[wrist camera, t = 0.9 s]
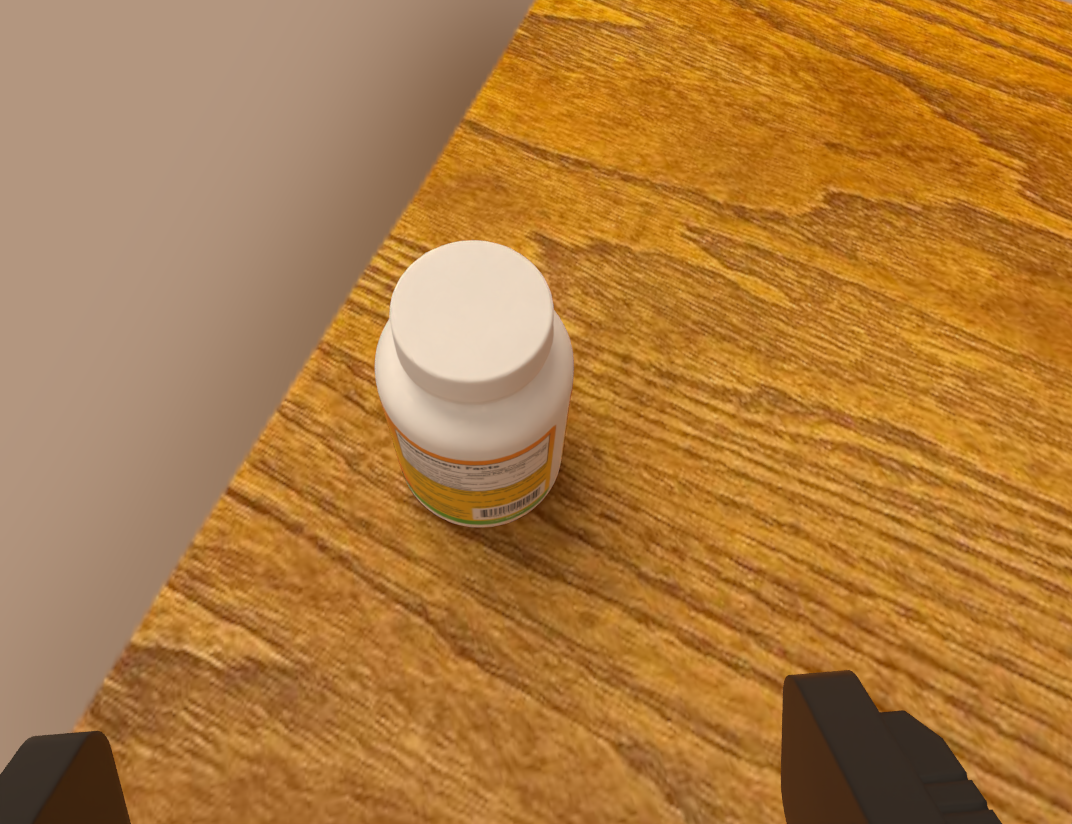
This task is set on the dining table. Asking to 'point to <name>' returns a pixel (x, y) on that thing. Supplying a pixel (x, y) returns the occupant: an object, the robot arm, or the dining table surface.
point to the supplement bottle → (475, 382)
